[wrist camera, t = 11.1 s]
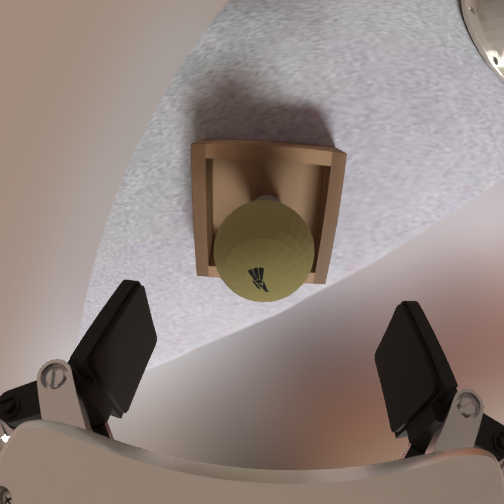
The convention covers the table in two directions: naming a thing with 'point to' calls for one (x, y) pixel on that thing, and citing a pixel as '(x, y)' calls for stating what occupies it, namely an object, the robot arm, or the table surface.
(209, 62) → the table surface
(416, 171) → the table surface
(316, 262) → the open wooden box
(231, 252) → the light bulb
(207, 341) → the table surface
